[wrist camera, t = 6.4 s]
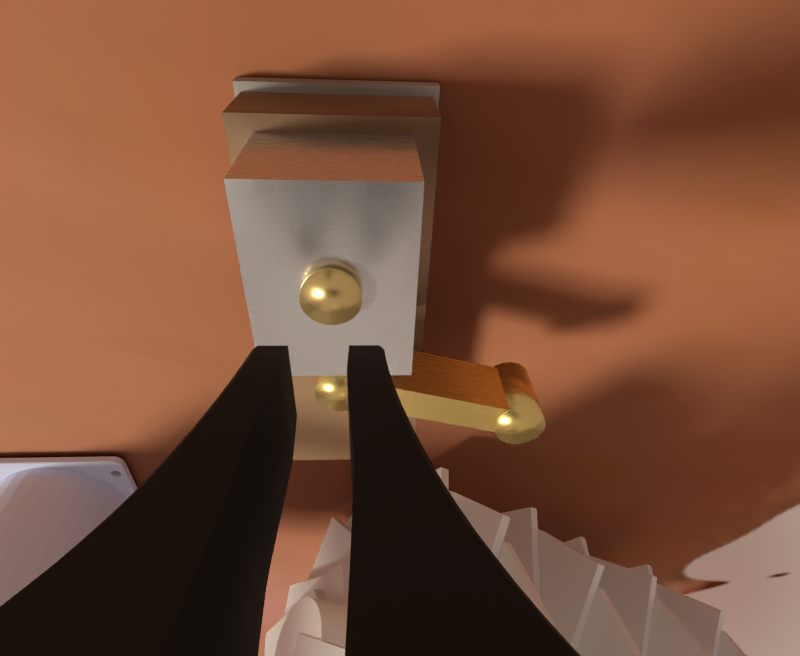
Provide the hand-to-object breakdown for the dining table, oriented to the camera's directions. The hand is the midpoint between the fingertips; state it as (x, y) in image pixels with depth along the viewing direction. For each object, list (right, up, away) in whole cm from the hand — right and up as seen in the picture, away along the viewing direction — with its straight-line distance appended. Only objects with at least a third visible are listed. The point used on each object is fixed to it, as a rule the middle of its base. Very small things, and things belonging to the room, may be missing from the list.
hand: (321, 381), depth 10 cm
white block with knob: (0, +4, +5) cm, 7 cm away
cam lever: (+3, 0, +9) cm, 9 cm away
